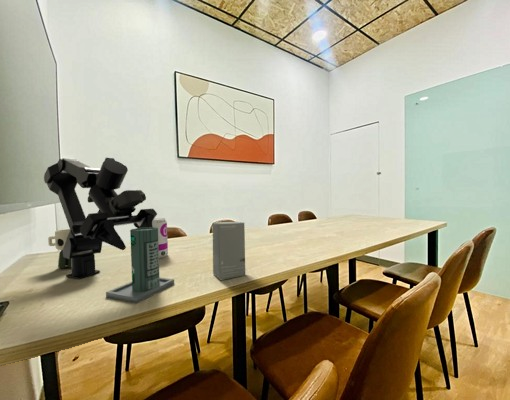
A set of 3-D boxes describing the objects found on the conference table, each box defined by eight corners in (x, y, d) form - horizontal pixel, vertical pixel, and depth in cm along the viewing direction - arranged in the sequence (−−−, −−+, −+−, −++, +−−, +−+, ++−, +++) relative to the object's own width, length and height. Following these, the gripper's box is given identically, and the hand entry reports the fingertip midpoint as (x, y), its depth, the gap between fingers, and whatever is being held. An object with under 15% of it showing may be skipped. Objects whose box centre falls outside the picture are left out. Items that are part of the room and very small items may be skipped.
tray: (106, 297, 55) (105, 292, 55) (146, 279, 66) (146, 275, 66) (136, 303, 52) (136, 298, 52) (174, 283, 63) (174, 279, 63)
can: (145, 281, 63) (143, 227, 63) (164, 283, 61) (162, 227, 61) (127, 290, 57) (125, 230, 57) (146, 293, 55) (144, 231, 55)
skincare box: (219, 281, 64) (218, 224, 63) (212, 273, 70) (210, 221, 70) (247, 275, 68) (245, 221, 67) (237, 269, 74) (236, 219, 74)
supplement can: (171, 253, 96) (170, 217, 96) (161, 259, 88) (160, 220, 87) (152, 253, 97) (151, 218, 96) (141, 259, 89) (139, 220, 88)
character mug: (45, 272, 76) (43, 232, 75) (53, 266, 82) (51, 230, 82) (86, 267, 80) (84, 229, 80) (90, 262, 87) (89, 227, 86)
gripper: (85, 177, 52) (122, 228, 48) (151, 181, 69) (182, 218, 65) (65, 212, 55) (98, 262, 51) (132, 208, 72) (161, 245, 68)
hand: (140, 244), depth 59 cm, fingers open, 9 cm apart
